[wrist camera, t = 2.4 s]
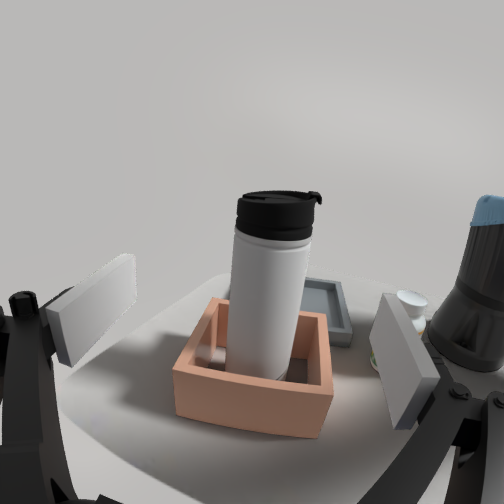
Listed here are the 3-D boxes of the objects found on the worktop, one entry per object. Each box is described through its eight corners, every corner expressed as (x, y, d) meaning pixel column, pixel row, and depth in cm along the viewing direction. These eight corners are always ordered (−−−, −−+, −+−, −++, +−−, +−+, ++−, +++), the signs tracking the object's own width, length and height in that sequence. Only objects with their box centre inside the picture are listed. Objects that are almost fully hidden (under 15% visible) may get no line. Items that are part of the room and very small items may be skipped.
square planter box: (315, 355, 37) (325, 313, 34) (316, 438, 24) (333, 395, 22) (210, 339, 38) (212, 297, 36) (176, 415, 26) (172, 368, 24)
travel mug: (286, 408, 28) (327, 201, 21) (219, 400, 28) (232, 189, 22) (287, 369, 34) (318, 188, 27) (229, 361, 34) (243, 179, 27)
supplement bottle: (414, 365, 35) (440, 300, 31) (394, 384, 31) (423, 314, 28) (382, 347, 39) (403, 283, 35) (360, 362, 35) (382, 293, 32)
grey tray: (337, 293, 53) (340, 281, 53) (348, 347, 38) (353, 333, 38) (246, 280, 55) (247, 269, 54) (226, 331, 40) (227, 316, 39)
